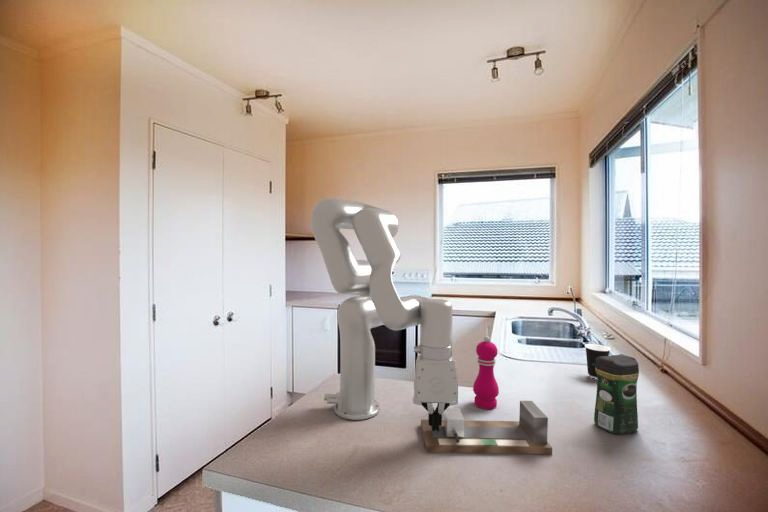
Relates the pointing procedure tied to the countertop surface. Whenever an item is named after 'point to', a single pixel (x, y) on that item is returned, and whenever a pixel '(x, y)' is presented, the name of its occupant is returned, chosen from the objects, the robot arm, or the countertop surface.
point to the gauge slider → (453, 423)
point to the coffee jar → (616, 394)
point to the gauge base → (495, 435)
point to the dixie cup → (594, 357)
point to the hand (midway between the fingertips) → (434, 428)
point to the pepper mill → (486, 375)
